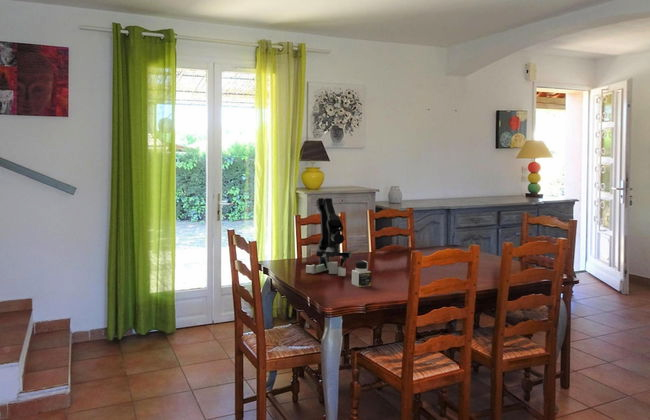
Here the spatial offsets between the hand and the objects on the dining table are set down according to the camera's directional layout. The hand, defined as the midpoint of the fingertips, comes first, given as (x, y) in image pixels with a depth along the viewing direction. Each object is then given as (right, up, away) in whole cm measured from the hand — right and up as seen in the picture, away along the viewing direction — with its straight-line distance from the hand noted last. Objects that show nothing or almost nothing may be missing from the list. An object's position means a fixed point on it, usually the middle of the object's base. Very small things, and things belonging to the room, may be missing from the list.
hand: (333, 269), depth 294 cm
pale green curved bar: (-6, -1, +2) cm, 6 cm away
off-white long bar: (-5, -2, -5) cm, 7 cm away
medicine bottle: (+13, -5, -28) cm, 31 cm away
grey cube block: (0, -2, -1) cm, 2 cm away
